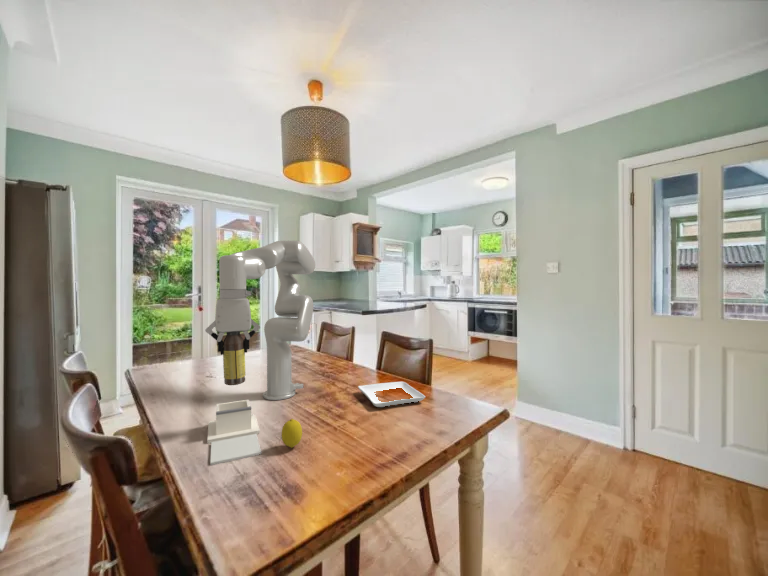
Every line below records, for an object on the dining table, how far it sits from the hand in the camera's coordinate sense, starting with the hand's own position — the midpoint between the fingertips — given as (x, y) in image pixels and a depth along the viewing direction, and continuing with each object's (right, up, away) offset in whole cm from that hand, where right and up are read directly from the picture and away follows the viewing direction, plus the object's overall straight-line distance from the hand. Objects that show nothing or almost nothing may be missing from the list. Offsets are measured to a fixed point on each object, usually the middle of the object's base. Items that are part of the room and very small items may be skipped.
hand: (233, 352), depth 103 cm
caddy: (0, -24, 0) cm, 24 cm away
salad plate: (+50, -24, +28) cm, 62 cm away
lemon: (+21, -24, -12) cm, 34 cm away
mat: (+6, -24, -12) cm, 28 cm away
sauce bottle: (0, -10, 0) cm, 10 cm away
